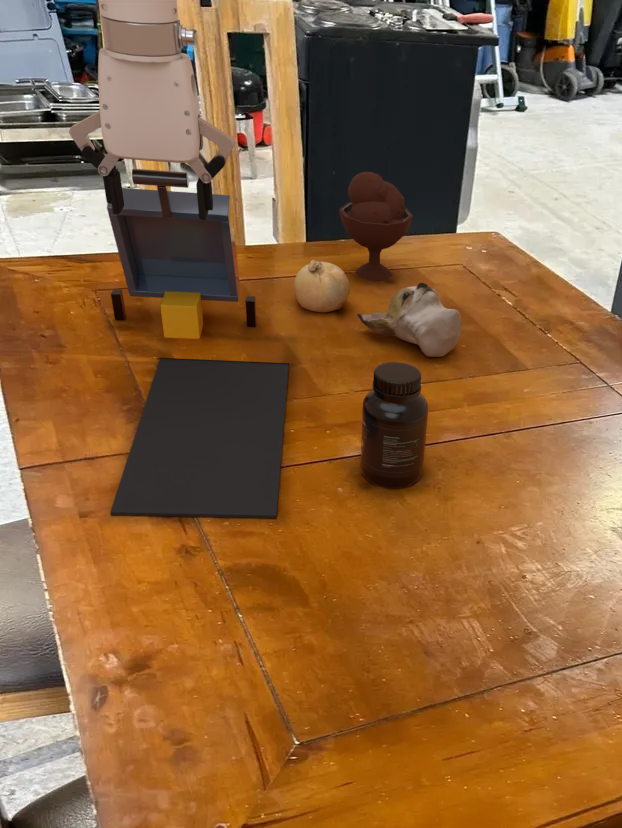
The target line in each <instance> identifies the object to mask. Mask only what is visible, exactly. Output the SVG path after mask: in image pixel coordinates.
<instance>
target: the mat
mask: <svg viewBox="0 0 622 828" xmlns="http://www.w3.org/2000/svg"><path fill="white" fill-rule="evenodd" d="M289 371H290V362H272V361H271V362H269V361H246V360H225V359H224V360H220V359H201V358H200V359H199V358H175V357H159V360H158V364H157V366H156V370H155V372H154V376H153V379H152V382H151V385H150V388H149V391H148V394H147V397H146V400H145V404H144V406H143V409H142V413H141V416H140V420H139V422H138V425H137V428H136V431H135V434H134V438H133V440H132V444H131V447H130V450H129V453H128V456H127V459H126V462H125V465H124V469H123V471H122V475H121V478H120V481H119V484H118V487H117V490H116V493H115V497H114V499H113V503H112V506H111V509H110V512H109V513H110V516H130V517H135V516H136V517H179V518H180V517H183V518H186V517H187V518H230V519H231V518H233V519H234V518H236V519H277V517H278V507H279V505H278V504H279V496H280V495H279V494H280V481H281V469H282V456H283V444H284V443H283V442H284V434H285V433H284V432H285V420H286V419H285V418H286V409H287V408H286V407H287V396H288V383H289V382H288V381H289V373H290V372H289Z"/></svg>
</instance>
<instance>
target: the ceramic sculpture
mask: <svg viewBox="0 0 622 828" xmlns="http://www.w3.org/2000/svg"><path fill="white" fill-rule="evenodd" d="M356 316H357V318H358V319H359V320H360V321H361V323H362V324H363V325H364V326H365V327H366V328H368V329H369V330H370V331H372V332H373V333H375V334H378V335H382V336H390V337H391V336H392V337H393V336H394V337H396V338H398V339H400V340H401V341H404V342H406V343H409V344H413V345H417V346H419V348H420V351H421V352H422V353H423V354H424V355H425V356H426V357H428V358H442V357H445V356H446V355H447V354H448V353H449V352H451V351H452V350H453V349H454V348H455V347H456V345H457V344H458V342H459V340H460V337H461V331H462V325H463V322H462V316H461V313H460V312H459V310H457V309H454V308H447V307H445V306H444V305H443V304H442V301H441V300H440V298H439V296H438V293H437V291H436V290H435V289H434V288H433V287H431V286H429V285H428V284H427V283H425V282H420V283H418V284H417V285H414V286H407V287H403V288H401V289H398V290H397V291H396V292H395V293H394V294H393V295H392V296H391V298H390V301H389V306H388V310H387V311H386V312H382V311H381V312H380V311H377V312H376V311H375V312H372V313H369V314H365V313H356Z"/></svg>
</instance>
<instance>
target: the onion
mask: <svg viewBox="0 0 622 828" xmlns="http://www.w3.org/2000/svg"><path fill="white" fill-rule="evenodd" d="M293 280H294V281H293V292H294V296H295V298H296V301H297V302H298V304H299V305H300V307H301V308H303V309H306V310H307V311H310V312H315V313H316V312H317V313H330V312H333V311H338V310H341V309H342V307H343V306H344V305H345V304H346V302H347V299H348V298H349V295H350V293H351V292H350V291H351V285H350V281H349V278H348V276H347V275H346V273H345V271H344V270H343V269H342V268H340V267H339V266H337V264H334V263H331V262H327V261H320V260H314V259H311V260H310V262H309V263H308V264H307V263H306V264H305V265H304V266H303V267H302V268H300V270H299V271H298V272H297V274H296V275H295V277H294V279H293Z"/></svg>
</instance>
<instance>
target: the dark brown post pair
mask: <svg viewBox="0 0 622 828" xmlns="http://www.w3.org/2000/svg"><path fill="white" fill-rule="evenodd" d="M110 298H111V303H112V310H113V316H114V321H119V322H124V321H125V320H126V317H127V313H126V306H125V299H124V292H123V289H119V288H113V289H112V290H111V293H110ZM245 316H246V318H245V319H246V327H247V328H256V327H257V322H258V321H257V303H256V296H254V295H253V296H250V295H246V296H245Z"/></svg>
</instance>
